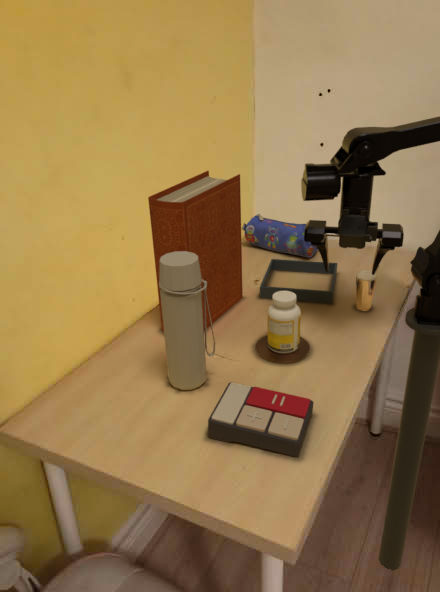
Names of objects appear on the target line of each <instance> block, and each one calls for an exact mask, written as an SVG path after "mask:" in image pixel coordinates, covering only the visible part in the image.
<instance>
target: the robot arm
mask: <svg viewBox="0 0 440 592" xmlns="http://www.w3.org/2000/svg"><path fill="white" fill-rule="evenodd" d="M438 142H440V116H435V117H430V118H425V119H422V120H418V121H413V122H409V123H404V124H400V125H395V126H387V127H385V126H361V127H359V126H357V127H353V128H352V129H349V130H348V131H347V132H346V134H345V135H344V136H343V139H342V142H341V145H340V147H339V148H338V149H337V151H336V152H335V154H334V155H333V157H331V158H330V160H329V163H312V162H311V163H310V162H307V163H304V170H303V172H302V178H301V181H300V186H301V187H300V188H301V198H302V201H303V202H313V201H333V200H335V198H338V197H339V195H340V203H339V204H340V207H339V217H338V223H337V226H327V220H317V219H308V221H307V222H306V223H305V224H306V227H305V232H304V241H305V242H311V245H312V246H316V247H317V249H318V250H317V251H318V252H319V254H320V257H321V260H322V261H321V262H323V264H324V267H325V271H326V272H328V265H329V263H330V261H329V260H330V259H329V241H328V239H329V238H328V237H333V238H335V237H337V238H339V239H338V246H339V248H342V249H348V248H351V249H357V250H361V249H362V250H363V249H364V248H366V243H372V242H377V244H376V249H375V254H374V258H373V261H372V267H371V271H372V275H374V274H375V272H376V270H377V268H378V266H379V267H380V264H381V262H382V260H383V259H384V257H385V256H386V254H387V253H388V252H389V251H394V250H395V249H396V248H402V247H403V246H404V245H403V244H404V237H405V236H404V235H405V234H404V233H405V232H404V227H403V226H402V225H401V224H400V223H384V222H383V223H382V224H381V228H379V222H378V221H371V220H370V218H371V208H372V197H373V190H374V189H373V188H374V178H375V177H376V176H377V177H379V176H386V174H387V172H386V170H384V169H383V168H382V167H381V165H380V163H379V161H382V160H384V159H386V158H387V157H389V156H391V155H392V154H394V153H396V152H399V151H402V150H406V149H411V148H417V147H420V146H425V145H429V144H433V143H438ZM409 264H410V265H411V267H410V272H411V275H412V278H413V279H414V280H415V281H416V282H417V283H418V286H420V287H421V288H419V294H416V295H415V301H414V307H413V308H414V316H415V317H416V319H417V323H418V324H424V325H436V326H440V229H439V230H438V232H437V234H436V236H435V238H434V240H433V241H432V243H431V244H429V245H428V246H426V247H422V246H418V247H417V250H416V252H415V256H414V257H413V258H412V259H411V261H410V262H409ZM378 269H379V268H378ZM377 271H378V270H377ZM376 273H377V272H376Z"/></svg>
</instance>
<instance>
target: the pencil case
mask: <svg viewBox="0 0 440 592" xmlns="http://www.w3.org/2000/svg"><path fill="white" fill-rule="evenodd" d="M306 224H307V223H295V222H287V221H282V220H277V219H273V218H272V219H271V218H267V217H263V215H261V213H258V214H256V215H254V216H253V217H251V219H250V220H248V222H247V223H245V222H244V223H243V225H242V226H241V231H242V230H243V232H244V238H245V241H246V242H247V243H248V244H249V245H251V246H254V247H259V248H262V249H265V250H268V251H273V252H277V253H282V254H290V255H293V256H299V257H303V258H307V259H311V258H313V257H314V255H316V254H317V252H318V251H319V250H318V249H317V247H316V246H312V245H311V242H305V241H304V232H305V227H306Z"/></svg>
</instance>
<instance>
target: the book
mask: <svg viewBox="0 0 440 592" xmlns="http://www.w3.org/2000/svg"><path fill="white" fill-rule="evenodd" d="M241 196H242V195H241V173H238V174H237V175H234V176H232V177H230V178H229V179H223V178H216V177H211V176H210V172H209V170H206V171H204V172H201V173H199V174H197V175H194V176H193V177H190V178H188V179H186V180H184V181H181V182H179V183H177V184H174V185H172V186H170V187H168V188H166V189H163V190H161V191H159V192H157V193H154V194H152V195H150V196H148V197H147V199H148V209H149V219H150V227H151V237H152V247H153V257H154V266H155V267H154V268H155V276H156V286H157V296H158V305H159V315H160V325H161V331H162V333H164V326H163V316H162V306H161V296H160V290H161V288H159V273H160V258H161V257H162V256H163V255H165V254H167V253H171V252H175V251H187V252H192V253H195V254H196V255H197V256H198V258H199V265H200V271H201V277H202V279H203V280H204V281H206V282H207V289H206V295H207V300H208V306H209V311H210V317H211V322H212V324H214V323H215V322H216V321H218V319H219V318H221V317H222V316H223V315H224V314H225V313H226V312H228V311H229V310H230V309H231V308H232V307H234V306H235V305H236V304H237V303H238V302H240V301H241V300H242V299H243V258H242V257H243V254H242V253H243V252H242V204H241V203H242V202H241V200H242V199H241ZM202 288H203V282H202V281H201V289H202ZM201 292H202V310H203V327H204V331H205V314H204V290H203V291H201ZM206 295H205V300H206ZM207 300H206V329H208V328H209V327H211V323H210V317H209V312H208V306H207Z"/></svg>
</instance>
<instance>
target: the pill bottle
mask: <svg viewBox="0 0 440 592" xmlns="http://www.w3.org/2000/svg"><path fill="white" fill-rule="evenodd" d="M271 300H272V301H271V302H272V304H270V305H269V307H268V309H267V335H268V346H269V348H270V349H271V350H272V351H274V352H277V353H283V354H284V353H291V352H294V351H295V350H297V349H298V347H299V344H300V337H301V320H302V319H301V317H302V315H301V313H302V312H301V311H302V310H301V307H300V306H299V305H297V301H296V294H295V293H293V292H290V291H278V292H275V293H274V294H273V295H272V299H271Z"/></svg>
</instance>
